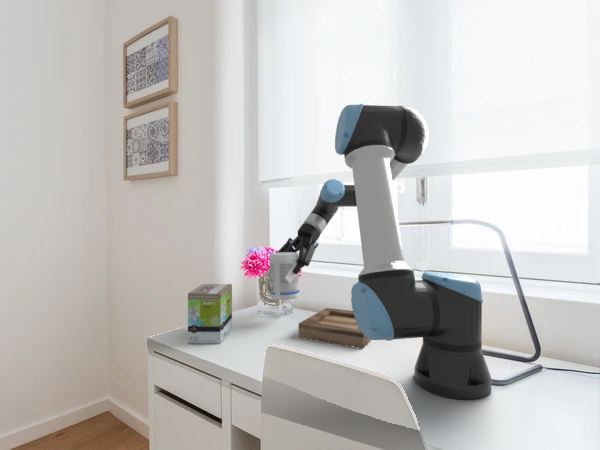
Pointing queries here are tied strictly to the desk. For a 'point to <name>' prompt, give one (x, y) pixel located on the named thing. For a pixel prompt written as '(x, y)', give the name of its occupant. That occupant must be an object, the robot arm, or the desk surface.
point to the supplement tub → (283, 275)
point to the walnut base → (333, 328)
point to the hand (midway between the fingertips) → (277, 278)
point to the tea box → (209, 313)
